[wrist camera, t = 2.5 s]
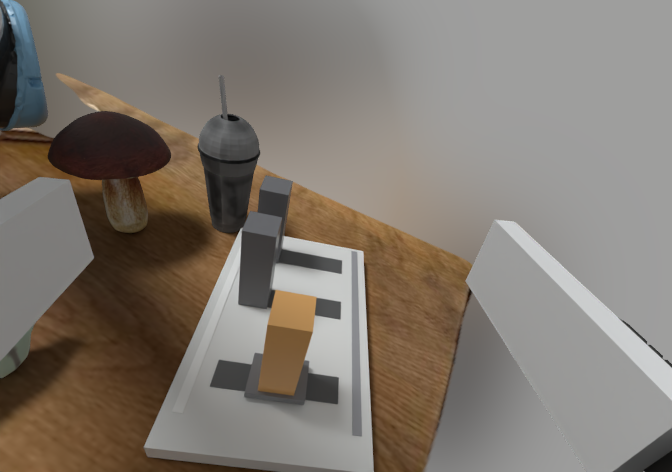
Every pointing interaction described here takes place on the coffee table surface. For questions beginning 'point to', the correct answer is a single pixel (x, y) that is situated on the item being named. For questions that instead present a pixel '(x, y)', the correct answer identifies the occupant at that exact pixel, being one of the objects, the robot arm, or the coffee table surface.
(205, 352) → the slotted peg board
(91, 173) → the decorative mushroom
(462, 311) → the coffee table surface
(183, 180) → the coffee table surface
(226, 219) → the beverage cup
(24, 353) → the green toy bird
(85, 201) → the coffee table surface
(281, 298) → the breaker handle
